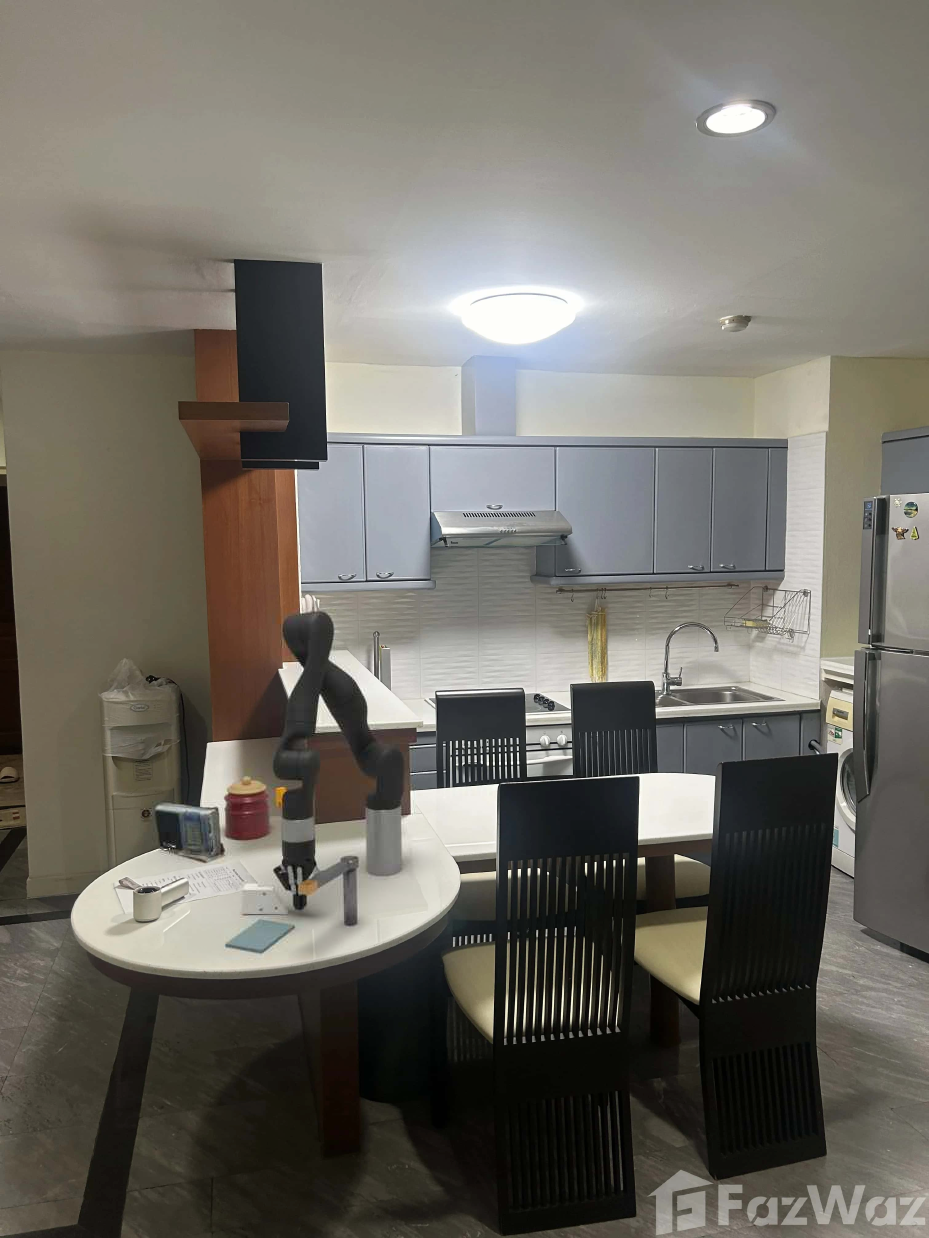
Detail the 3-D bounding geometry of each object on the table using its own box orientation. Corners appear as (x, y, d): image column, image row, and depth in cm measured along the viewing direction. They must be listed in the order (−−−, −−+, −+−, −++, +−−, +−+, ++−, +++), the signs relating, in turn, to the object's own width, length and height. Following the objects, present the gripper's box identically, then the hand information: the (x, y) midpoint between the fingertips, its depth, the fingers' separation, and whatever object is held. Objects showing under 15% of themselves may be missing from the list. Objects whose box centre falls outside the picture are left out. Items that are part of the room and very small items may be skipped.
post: (347, 919, 200) (346, 864, 199) (359, 921, 199) (358, 866, 198) (341, 924, 197) (340, 869, 196) (353, 926, 196) (352, 870, 195)
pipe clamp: (313, 810, 284) (313, 790, 283) (304, 813, 280) (304, 793, 279) (285, 804, 290) (284, 785, 289) (276, 808, 286) (275, 788, 285)
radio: (152, 849, 247) (150, 799, 246) (178, 841, 254) (176, 792, 253) (200, 867, 233) (198, 814, 232) (226, 858, 240) (225, 806, 239)
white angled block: (253, 932, 203) (286, 914, 203) (231, 895, 202) (264, 877, 202) (256, 925, 206) (289, 907, 206) (235, 889, 205) (267, 871, 205)
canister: (277, 829, 264) (275, 771, 263) (260, 843, 252) (258, 783, 250) (236, 827, 267) (235, 769, 265) (217, 841, 254) (215, 781, 252)
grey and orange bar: (347, 862, 200) (346, 854, 199) (362, 865, 198) (361, 856, 198) (296, 892, 183) (295, 883, 182) (312, 895, 181) (311, 886, 181)
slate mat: (260, 922, 199) (260, 919, 199) (294, 928, 196) (294, 924, 196) (225, 947, 187) (225, 943, 187) (261, 953, 184) (261, 950, 183)
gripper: (264, 837, 200) (266, 911, 201) (315, 843, 195) (317, 919, 197) (282, 827, 207) (284, 898, 208) (332, 833, 202) (333, 906, 204)
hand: (300, 908), depth 202 cm, fingers closed
